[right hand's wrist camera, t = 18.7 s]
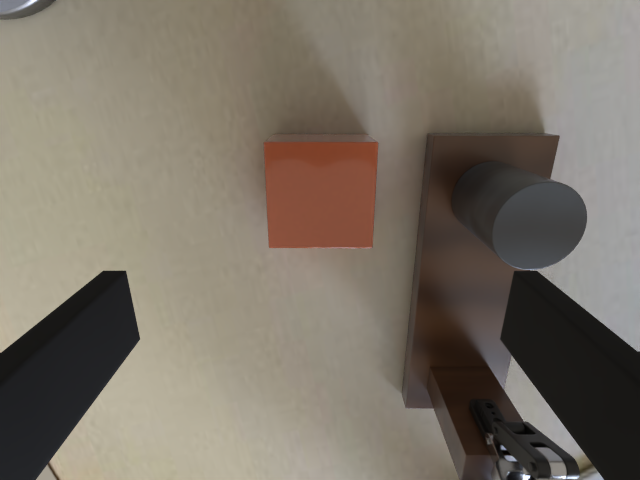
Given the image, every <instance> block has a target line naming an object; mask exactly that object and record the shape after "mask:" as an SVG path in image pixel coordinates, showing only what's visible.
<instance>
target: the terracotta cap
mask: <svg viewBox="0 0 640 480" xmlns="http://www.w3.org/2000/svg"><path fill="white" fill-rule="evenodd" d="M377 157H378V142H377V141H376V140H374V139H373V138H372V137H370V136H369V135H368V134H274V135H272V136H271V137H270V138H269V139H267V140H266V141H265V142H264V159H265V179H266V199H267V219H268V239H269V248H372V246H373V228H374V210H375V193H376V175H377Z"/></svg>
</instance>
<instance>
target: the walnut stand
mask: <svg viewBox="0 0 640 480" xmlns="http://www.w3.org/2000/svg"><path fill="white" fill-rule="evenodd" d="M559 137H560V136H558V135H552V134H428V135H427V145H426V155H425V165H424V176H423V186H422V196H421V206H420V216H419V227H418V237H417V247H416V257H415V267H414V277H413V288H412V298H411V308H410V318H409V328H408V338H407V349H406V359H405V369H404V379H403V389H402V397H403V400H404V404H405V407H406V408H434V410H435V413H436V416H437V419H438V421H439V424H440V427H441V429H442V432H443V435H444V438H445V440H446V443H447V446H448V449H449V451H450V454H451V457H452V460H453V462H454V465H455V468H456V471H457V473H458V476H459V479H460V480H492V477H491V471H492V469H493V466H494V464H493V462H492V459H491V456H490V454H489V451H488V449H487V446H486V443H485V441H484V439H483V437H482V435H481V433H480V431H479V429H478V427H477V425H476V422H475V420H474V418H473V416H472V414H471V412H470V410H469V403H470V400H471V399H490V400H493V401H495V402H496V404H497V406H498V408H499V409H500V412H501V413H502V415H503V416H504V418H505V420H506V422H524V421H523V420H522V418H521V416H520V415H519V413H518V412H517V410H516V408H515V407H514V405H513V404H512V402H511V401H510V399H509V397H508V396H507V394H506V393H505V391H504V387H505V382H506V378H507V373H508V369H509V364H510V360H511V353H510V352H509V351H508V349H507V348H506V347H505V345H504V344H503V343H502V341H501V340H500V336H501V332H502V327H503V322H504V317H505V312H506V307H507V303H508V298H509V293H510V288H511V283H512V278H513V274H514V271H530V270H536V269H542V268H545V267H548V266H551V265H553V264H555V263H557V262H559V261H560V260H562V259H563V258H565V257H566V256H567V255H568V254H570V253H571V252H572V251H573V250H574V248H575V247H576V246H577V245H578V243H579V241H580V240H581V238H582V236H583V234H584V231H585V228H586V223H587V211H586V207H585V204H584V202H583V200H582V198H581V197H580V195H579V194H578V193H577V192H576V191H575V190H574V189H572V188H571V187H569V186H567V185H565V184H562V183H560V182H557V181H554V180H551V179H550V178H551V173H552V169H553V164H554V160H555V155H556V151H557V146H558V141H559ZM502 452H503V455H504V457H505V458H506V459H507V460H508V461H517V460H516V459H515V458H514V457H513V456H512V455H511V454H510V453H509V452H508V451H507V450H502Z"/></svg>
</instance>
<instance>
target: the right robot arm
mask: <svg viewBox="0 0 640 480" xmlns="http://www.w3.org/2000/svg"><path fill="white" fill-rule="evenodd" d="M54 1H56V0H0V19H17V18H22V17H26V16H30V15H33V14H35V13H37V12H39V11H42V10H43V9H45V8H46V7H48V6H49V5H51V4H52V3H53V2H54ZM139 340H140V336H139V332H138V327H137V322H136V317H135V312H134V307H133V303H132V298H131V293H130V288H129V283H128V278H127V274H126V271H102V272H101V273H100V274H99V275H98V276H96V277H95V278H94V279H93V280H91V281H90V282H89V283H88V284H86V285H85V286H84V287H83V288H81V289H80V290H79V291H78V292H76V293H75V294H74V295H73V296H71V297H70V298H69V299H68V300H66V301H65V302H64V303H63V304H61V305H60V306H59V307H58V308H56V309H55V310H54V311H53V312H51V313H50V314H49V315H48V316H46V317H45V318H44V319H43V320H41V321H40V322H39V323H38V324H36V325H35V326H34V327H33V328H32V329H30V330H29V331H28V332H27V333H25V334H24V335H23V336H22V337H20V338H19V339H18V340H17V341H15V342H14V343H13V344H12V345H10V346H9V347H8V348H7V349H5V350H4V351H3V352H2V353H0V480H36V479H37V477H38V476H39V475H40V473H41V472H42V470H43V469H44V468H45V467H46V465H47V464H48V462H49V461H50V460H51V458H52V457H53V456H54V454H55V453H56V452H57V450H58V449H59V448H60V446H61V445H62V444H63V442H64V441H65V440H66V438H67V437H68V436H69V434H70V433H71V432H72V430H73V429H74V427H75V426H76V425H77V423H78V422H79V421H80V419H81V418H82V417H83V415H84V414H85V413H86V411H87V410H88V409H89V407H90V406H91V405H92V403H93V402H94V401H95V399H96V398H97V396H98V395H99V394H100V392H101V391H102V390H103V388H104V387H105V386H106V384H107V383H108V382H109V380H110V379H111V378H112V376H113V375H114V374H115V372H116V371H117V370H118V368H119V367H120V366H121V364H122V363H123V361H124V360H125V359H126V357H127V356H128V355H129V353H130V352H131V351H132V349H133V348H134V347H135V345H136V344H137V343H138V341H139ZM500 340H501V341H502V343H503V344H504V345H505V347H506V348H507V349H508V351H509V352H510V353H511V355H512V356H513V357H514V359H515V360H516V361H517V363H518V364H519V366H520V367H521V368H522V370H523V371H524V372H525V374H526V375H527V376H528V378H529V379H530V380H531V382H532V383H533V384H534V386H535V387H536V388H537V390H538V391H539V392H540V394H541V395H542V396H543V398H544V399H545V401H546V402H547V403H548V405H549V406H550V407H551V409H552V410H553V411H554V413H555V414H556V415H557V417H558V418H559V419H560V421H561V422H562V423H563V425H564V426H565V427H566V429H567V430H568V432H569V433H570V434H571V436H572V437H573V438H574V440H575V441H576V442H577V444H578V445H579V446H580V448H581V449H582V450H583V452H584V453H585V454H586V456H587V457H588V458H589V460H590V461H591V462H592V464H593V465H594V467H595V468H596V469H597V471H598V472H599V473H600V475H601V476H602V477H603V479H604V480H640V352H637V351H636V350H635V349H633V348H632V347H631V346H630V345H628V344H627V343H626V342H625V341H623V340H622V339H621V338H620V337H618V336H617V335H616V334H615V333H613V332H612V331H611V330H610V329H608V328H607V327H606V326H605V325H604V324H602V323H601V322H600V321H599V320H597V319H596V318H595V317H594V316H592V315H591V314H590V313H589V312H587V311H586V310H585V309H584V308H582V307H581V306H580V305H579V304H577V303H576V302H575V301H574V300H572V299H571V298H570V297H569V296H567V295H566V294H565V293H564V292H562V291H561V290H560V289H559V288H557V287H556V286H555V285H554V284H552V283H551V282H550V281H549V280H547V279H546V278H545V277H544V276H542V275H541V274H540V273H539V272H538V271H514V274H513V278H512V283H511V288H510V293H509V298H508V303H507V307H506V312H505V317H504V322H503V327H502V332H501V336H500Z"/></svg>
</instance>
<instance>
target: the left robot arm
mask: <svg viewBox="0 0 640 480" xmlns="http://www.w3.org/2000/svg"><path fill="white" fill-rule="evenodd" d="M469 410H470V412H471V414H472V416H473V418H474V420H475V422H476V425H477V427H478V429H479V431H480V433H481V435H482V437H483V439H484V441H485V443H486V446H487V449H488V451H489V454H490V456H491V459H492V462H493V464H494V466H493V469H492V471H491V477H492V480H565V479H577V478H578V477H579V467H578V465H577V462H576V461H575V459H574V458H573V457H572V456H571V455H569V454H568V453H567V452H565V451H564V450H563V449H562V448H560V447H559V446H558V445H557V444H555V443H554V442H553V441H551V440H550V439H549V438H548V437H546V436H545V435H544V434H543V433H541V432H540V431H539V430H537V429H536V428H535V427H534V426H532V425H531V424H530V423H528V422H506V420H505V418H504V416H503V415H502V413H501V412H500V409H499V408H498V406H497V404H496V402H495V401H493V400H490V399H471V400H470V403H469ZM502 450H507V451H508V452H509V453H510V454H511V455H512V456H513V457H514V458H515V459H516V460H517V461H508V460H507V459H506V458H505V457H504V455H503V452H502Z"/></svg>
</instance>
